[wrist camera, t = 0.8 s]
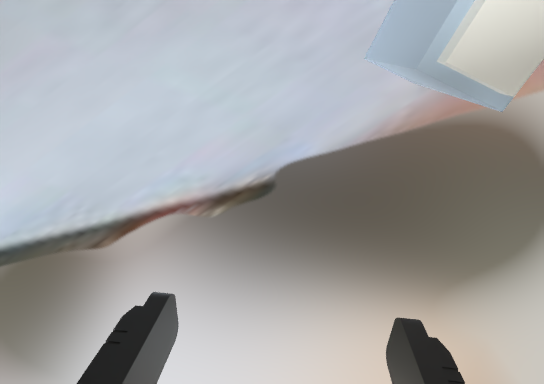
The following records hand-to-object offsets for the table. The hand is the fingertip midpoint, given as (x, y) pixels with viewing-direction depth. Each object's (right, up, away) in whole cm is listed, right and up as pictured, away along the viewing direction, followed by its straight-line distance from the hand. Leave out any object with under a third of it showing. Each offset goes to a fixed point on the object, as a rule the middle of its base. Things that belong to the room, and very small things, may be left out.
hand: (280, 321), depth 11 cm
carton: (+13, +20, +19) cm, 30 cm away
